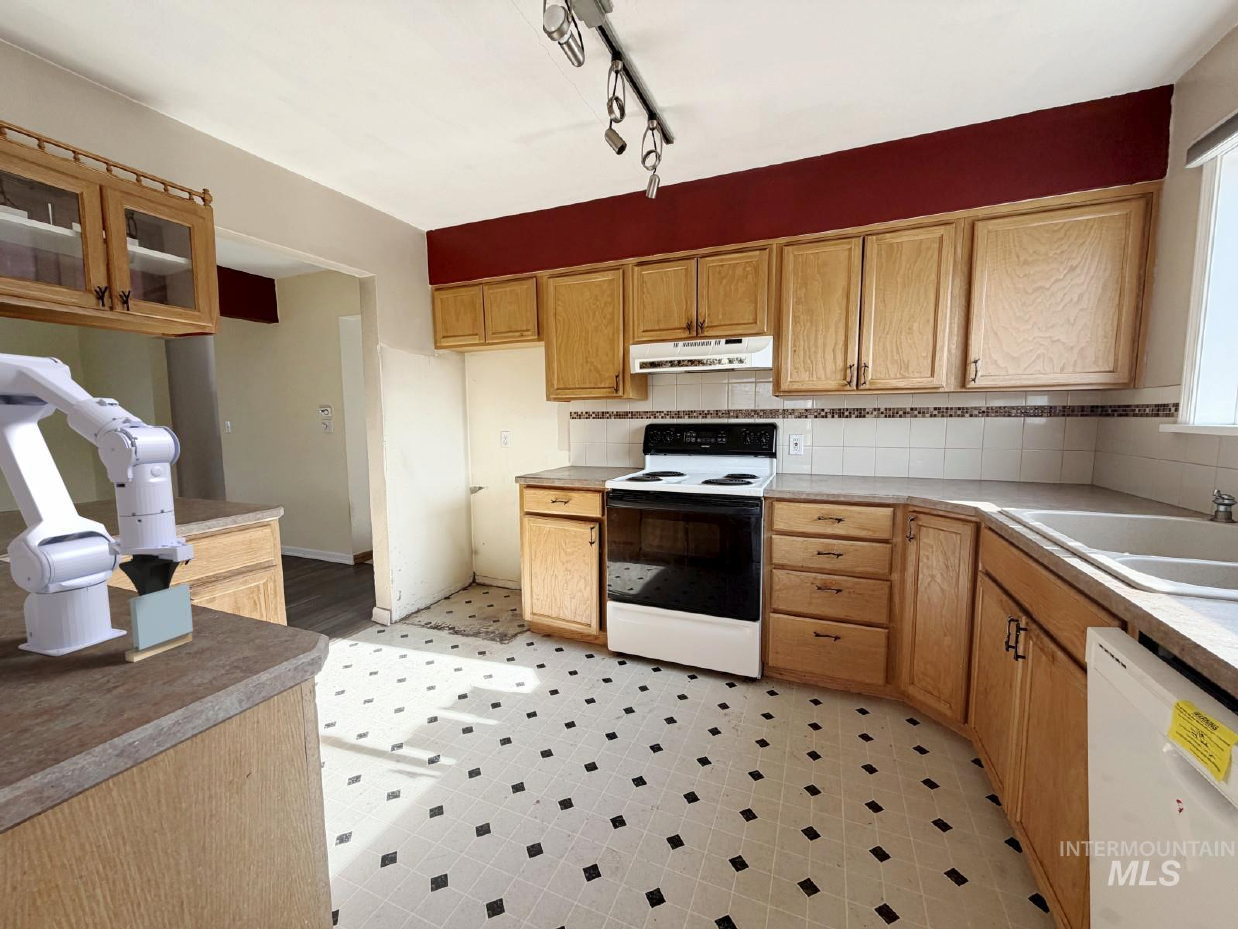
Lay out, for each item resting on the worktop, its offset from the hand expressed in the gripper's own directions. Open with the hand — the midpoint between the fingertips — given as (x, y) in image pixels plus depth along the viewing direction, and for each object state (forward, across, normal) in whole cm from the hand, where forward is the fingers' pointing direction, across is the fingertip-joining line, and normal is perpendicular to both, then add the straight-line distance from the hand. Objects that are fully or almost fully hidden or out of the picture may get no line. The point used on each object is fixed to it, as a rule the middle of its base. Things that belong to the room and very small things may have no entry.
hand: (155, 606), depth 70 cm
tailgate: (+5, -1, 0) cm, 5 cm away
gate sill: (+6, 0, 0) cm, 6 cm away
